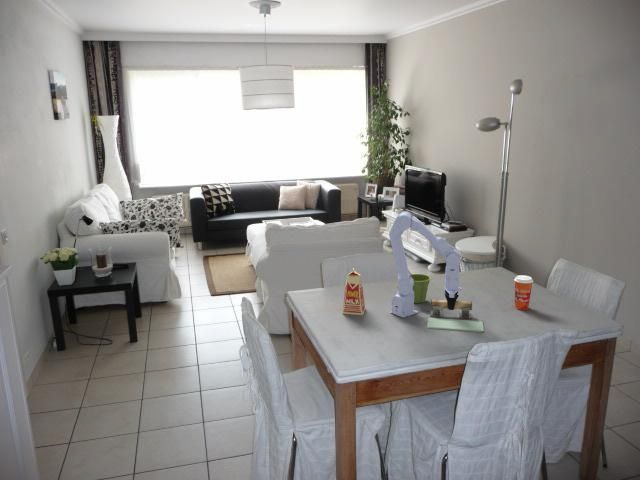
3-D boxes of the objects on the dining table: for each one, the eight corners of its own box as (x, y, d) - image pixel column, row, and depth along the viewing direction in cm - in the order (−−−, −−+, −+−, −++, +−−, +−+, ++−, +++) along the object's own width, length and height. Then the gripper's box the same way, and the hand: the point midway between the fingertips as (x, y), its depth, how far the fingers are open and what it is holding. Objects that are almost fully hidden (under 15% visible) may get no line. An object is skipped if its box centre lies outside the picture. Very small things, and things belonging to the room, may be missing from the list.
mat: (427, 328, 215) (427, 326, 214) (427, 319, 224) (428, 317, 224) (483, 332, 210) (483, 330, 210) (482, 322, 219) (482, 321, 219)
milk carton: (362, 315, 230) (362, 271, 225) (341, 314, 232) (341, 270, 227) (365, 307, 238) (365, 265, 234) (345, 306, 240) (344, 264, 236)
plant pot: (428, 296, 251) (429, 273, 248) (431, 305, 240) (432, 281, 237) (403, 296, 252) (404, 273, 250) (405, 304, 241) (405, 281, 238)
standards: (430, 316, 227) (430, 305, 226) (430, 312, 231) (430, 301, 230) (471, 319, 223) (472, 308, 222) (470, 314, 228) (471, 304, 226)
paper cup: (511, 309, 233) (513, 278, 229) (513, 303, 239) (515, 274, 236) (530, 312, 229) (532, 281, 226) (532, 306, 236) (534, 276, 232)
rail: (430, 307, 227) (430, 301, 226) (430, 305, 230) (430, 299, 229) (471, 310, 223) (472, 303, 222) (471, 307, 226) (471, 301, 225)
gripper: (462, 283, 215) (461, 315, 219) (461, 273, 229) (460, 302, 232) (444, 282, 217) (443, 313, 220) (444, 272, 231) (443, 301, 234)
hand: (450, 308), depth 226 cm, fingers closed on rail, 3 cm apart
